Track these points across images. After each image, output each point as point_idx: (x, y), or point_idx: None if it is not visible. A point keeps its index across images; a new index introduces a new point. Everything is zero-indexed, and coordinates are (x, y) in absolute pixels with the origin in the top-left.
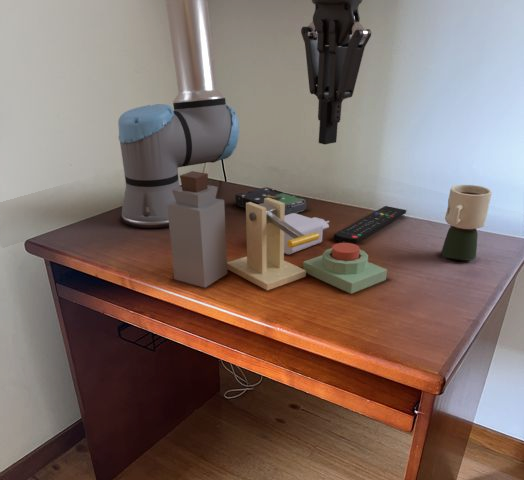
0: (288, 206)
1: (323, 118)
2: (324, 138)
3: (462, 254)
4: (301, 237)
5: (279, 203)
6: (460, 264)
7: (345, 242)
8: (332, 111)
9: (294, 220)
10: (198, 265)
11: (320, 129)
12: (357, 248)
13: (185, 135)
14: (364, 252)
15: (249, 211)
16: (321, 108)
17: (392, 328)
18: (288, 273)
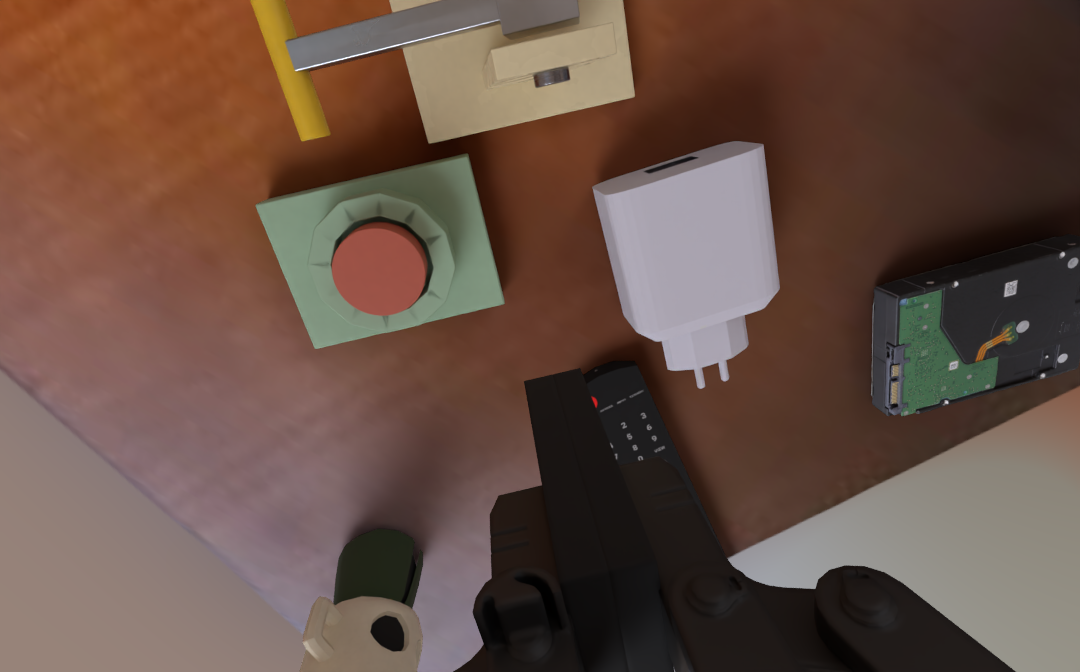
0: (890, 348)
1: (576, 469)
2: (531, 397)
3: (342, 559)
4: (275, 41)
5: (505, 53)
6: (344, 539)
7: (591, 372)
8: (519, 555)
9: (705, 261)
10: None
11: (586, 414)
12: (357, 301)
13: None
14: (378, 328)
15: None
16: (624, 512)
17: (24, 183)
18: (430, 76)
